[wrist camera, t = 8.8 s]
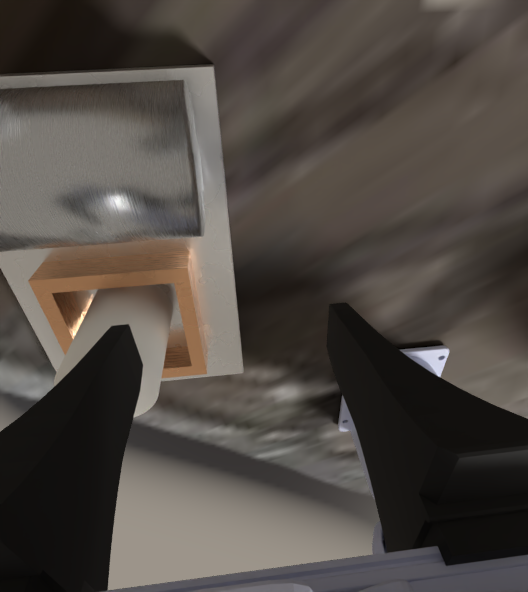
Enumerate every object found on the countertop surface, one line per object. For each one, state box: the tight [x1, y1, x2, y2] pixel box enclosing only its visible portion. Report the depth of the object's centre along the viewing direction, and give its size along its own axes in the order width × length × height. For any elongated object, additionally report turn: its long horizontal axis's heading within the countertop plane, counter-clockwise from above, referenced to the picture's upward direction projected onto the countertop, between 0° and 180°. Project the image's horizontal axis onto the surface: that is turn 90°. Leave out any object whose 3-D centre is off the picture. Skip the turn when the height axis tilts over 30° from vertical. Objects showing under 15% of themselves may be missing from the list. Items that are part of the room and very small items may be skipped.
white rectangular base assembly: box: [0, 64, 244, 381], centre depth 18 cm, size 18×12×8 cm, turn 2°
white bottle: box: [54, 285, 173, 418], centre depth 18 cm, size 4×4×7 cm
